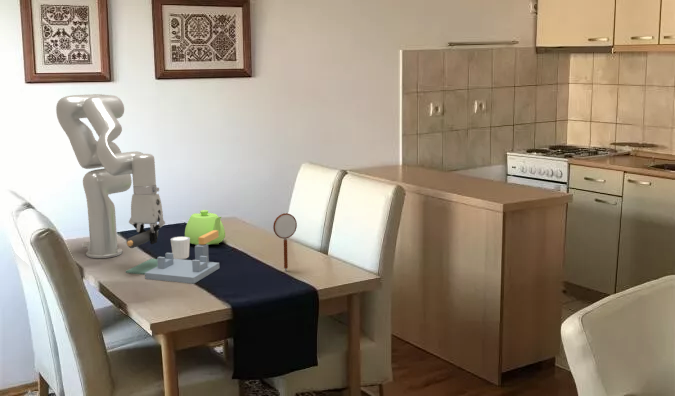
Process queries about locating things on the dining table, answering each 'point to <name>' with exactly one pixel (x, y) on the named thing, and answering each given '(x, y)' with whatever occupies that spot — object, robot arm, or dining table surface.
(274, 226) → the magnifying glass
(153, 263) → the mat
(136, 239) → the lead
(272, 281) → the dining table surface
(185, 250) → the white cup
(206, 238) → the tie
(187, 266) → the grey cradle stand
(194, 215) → the teapot
